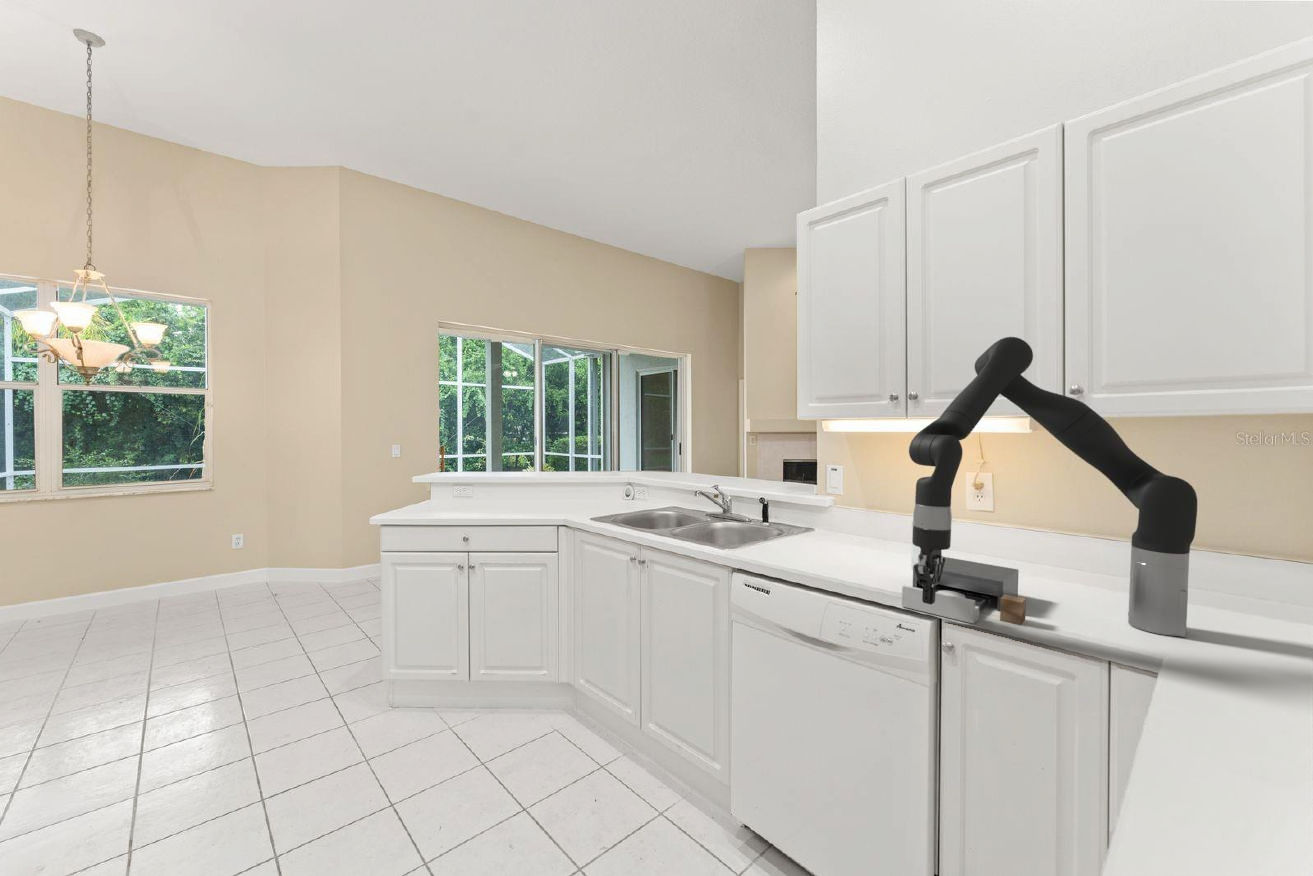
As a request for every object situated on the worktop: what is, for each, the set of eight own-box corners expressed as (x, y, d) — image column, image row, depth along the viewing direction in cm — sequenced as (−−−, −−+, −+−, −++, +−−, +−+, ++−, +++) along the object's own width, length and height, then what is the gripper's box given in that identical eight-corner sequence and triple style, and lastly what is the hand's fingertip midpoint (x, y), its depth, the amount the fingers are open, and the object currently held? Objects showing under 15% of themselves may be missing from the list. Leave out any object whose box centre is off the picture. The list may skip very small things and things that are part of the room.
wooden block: (1025, 620, 121) (1025, 598, 121) (1021, 625, 118) (1022, 602, 118) (1004, 616, 124) (1004, 594, 124) (999, 620, 121) (1000, 598, 121)
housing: (1017, 597, 138) (1018, 569, 138) (1002, 611, 127) (1003, 582, 126) (933, 580, 152) (933, 555, 152) (912, 592, 141) (913, 565, 140)
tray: (993, 604, 131) (994, 585, 131) (973, 623, 118) (973, 601, 118) (927, 590, 141) (928, 572, 141) (901, 606, 129) (902, 586, 128)
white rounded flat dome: (968, 601, 131) (968, 594, 131) (960, 606, 127) (960, 600, 127) (941, 595, 135) (941, 588, 135) (933, 600, 131) (933, 593, 131)
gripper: (924, 519, 127) (921, 592, 128) (902, 526, 118) (899, 605, 118) (959, 524, 122) (956, 600, 123) (940, 531, 113) (936, 614, 113)
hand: (928, 602), depth 121 cm, fingers closed
